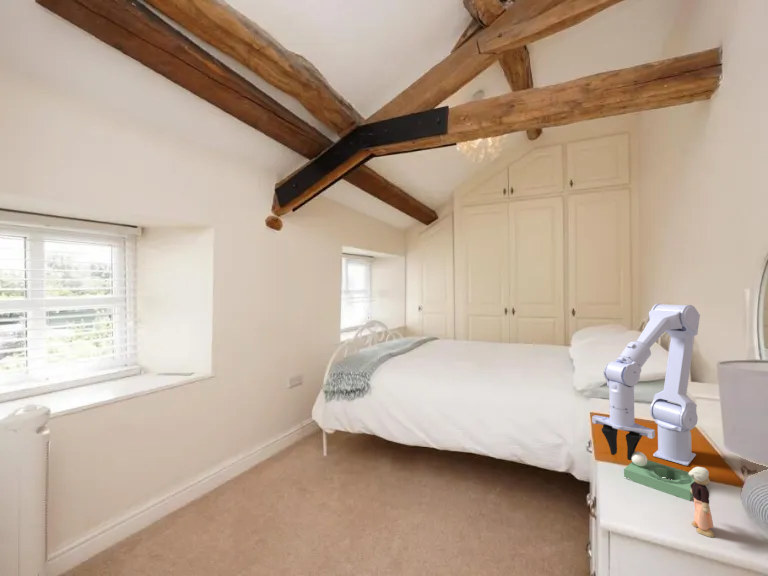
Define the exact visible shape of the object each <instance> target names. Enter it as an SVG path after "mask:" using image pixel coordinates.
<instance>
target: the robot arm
mask: <svg viewBox="0 0 768 576" xmlns="http://www.w3.org/2000/svg"><path fill="white" fill-rule="evenodd" d="M700 318H701V314H700V313H699V311H698V310H697V308H696V307H695V306H694V305H692V304H686V305H685V304H670V303H669V304H666V303H664V304H663V303H655V304H654V305H653V306H652V308H651V310H650V311H649V312H648V319H649V320H648V322H647V324H646V325H645V327H644V329H643V331H641V333H640V335H639V337H638V338H637V340H636V341H630V342H628V343H627V345H626V347H625V348H624V349H623V350H622V352H621V353H620V354H619V356H618V357H617V358H616V360H613V361H611V362H608V363H607V364H606V365H605V368H604V371H603V377H604V378H605V380H606V386H607V387H608V388H609V389H608V392H609V393H608V394H609V399H608V400H609V401H608V402H609V417H608V416H602V415H596V414H595V415H592V416H591V417H592V419H591V421H592V424H594V425H602V426H603V427H602V428H601V432H602V433H603V436H604V437H605V439H606V441H607V444H608V448H609V450H610V455H613V456H615V455H616V454H617V453H618V439H617V438H618V431H619V430H620V431H624V432H628V433H627V434H625V441H626V446H627V448H626V449H627V450H626V452H627V453H626V457H627V460H628V461H632V460H631V456H632V453H633V452H636V448H637V446H638V444H639V442H640V440H641V439H642V437H647V438H648V439H652V440H653V439H654V438H655V437H656V430H655V429H653V428H650V427H646V426H644V425H641V424H639V423H636V422H635V386H636V385H637V383H638V382H640V378H641V372H642V367H643V366H644V365H645V364H646V362H647V361H648V359H649V358H650V357H651V355H652V352H651V347H652V346H653V345H654V344H655V343H657V341H658V340H659V339H660V338H661V337H662V335H664V333H667V335H668V336H669V337H670V342H669V347H668V348H669V349H668V357H667V362H666V363H667V364H666V372H665V378H664V385H663V390H661V391H658V392H657V393H656V392H655V394H654V395H653V398H652V399H653V400H652V402H651V403H650V405H649V413H650V417H651V418H652V419H654V424H657V450H656V451H655V452H654V453H653V455H652V456H653V457H656V458H659V459H662V460H665V461H670V462H674V463H676V464H680V465H683V466H686V467H687V466H689V465H690V464H691V462H692V461H693V460H694V458H695V457H697V454H696V453H694V452H692V433H691V430H693V429H694V428H695V427H696V425H697V424H698V419H699V418H698V414H697V403H695V401H693V399H691V397H689V396H688V395H687V394H688V387H689V386H688V385H689V378H690V373H691V363H692V358H693V349H694V342H695V336H697V335H698V332H699V325H700Z"/></svg>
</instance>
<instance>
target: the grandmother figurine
mask: <svg viewBox="0 0 768 576" xmlns="http://www.w3.org/2000/svg"><path fill="white" fill-rule="evenodd" d="M688 472H689V473H688V474H689V475H690V476H692V477H693V479H694V481H695V482H693V483H692V484H691V485H690V487H691V490H690V492H691V493H692V494H693V497H692V498H693V506H694V516H693V517H694V518H693V521H691V525H692V527H695V528H696V530H695V531H696V533H698V534H700V535H703V536H706V537H709V538H714V537H715V533H714V532H713V530H711V529H713V528H714V523H713V522H714V521H713V515H712V512H711V508H710V507H711V506H710V491H709V489H708V487H707V485H708V484H710V478H709V476H710V475H709V474H710V472H709V470H708V469H707V468H705V467H702V466H695V467H693V468H692V469H691V470H689V471H688Z"/></svg>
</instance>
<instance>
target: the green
mask: <svg viewBox="0 0 768 576" xmlns="http://www.w3.org/2000/svg"><path fill="white" fill-rule="evenodd" d="M689 472H690V471H686V470H683V469H679V468H677V467H672V466H669V465H665V464H663V463H659V462H655V461H652V460H650V459H647V464H646V465H645V466H637V465H635V464H634V463H633V462H632V461H631V462H630V463H629V464H628V465H627V466H626V467H624V468H623V476H624V477H626V478H629V479H631V480H633V481H632V482H634V481H635V482H634V483H637V484H641V485H643V486H645V487H648V488H649V487H650V488H651V489H654V490H658V491H660V492H662V493H663V492H664V493H667V494H669V495H671V496H672V495H673V496H675V497H678V498H681V499H684V500H686V501H689V502H690V501H691V500H692V499H693V498H694V497H693V494H692V493H691V492H690V490H691V487H690V485H691V484H692V483H693V482H695V481H694V479H693V477H692V476H690V475H689V474H688V473H689ZM624 477H623V478H624ZM662 477H666V478H662ZM667 478H670V479H672V480H670V479H667ZM631 480H630V481H631Z"/></svg>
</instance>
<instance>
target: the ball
mask: <svg viewBox="0 0 768 576" xmlns="http://www.w3.org/2000/svg"><path fill="white" fill-rule="evenodd" d="M647 460H648V458H647V456H646V455H645V454H644V453H643V452H641V451H638V450H637V451H635V452H633V453H632V456H631V460H630V461H631V462H633V463H634V464H635V465H637V466H645V465H646V464H647Z"/></svg>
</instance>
